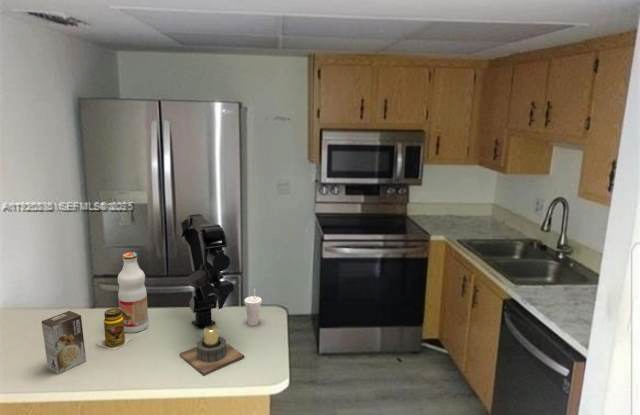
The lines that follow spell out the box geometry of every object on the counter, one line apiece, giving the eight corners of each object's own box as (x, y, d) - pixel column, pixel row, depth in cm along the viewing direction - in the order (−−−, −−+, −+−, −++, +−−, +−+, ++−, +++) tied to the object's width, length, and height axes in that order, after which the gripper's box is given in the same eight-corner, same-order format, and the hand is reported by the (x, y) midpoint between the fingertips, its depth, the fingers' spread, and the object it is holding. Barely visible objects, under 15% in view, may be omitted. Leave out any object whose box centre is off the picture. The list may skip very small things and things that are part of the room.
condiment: (116, 350, 158) (113, 317, 156) (95, 345, 161) (92, 313, 158) (131, 339, 165) (128, 308, 162) (111, 335, 168) (108, 304, 165)
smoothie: (258, 328, 175) (258, 293, 172) (242, 326, 177) (241, 291, 173) (264, 320, 182) (264, 286, 178) (248, 318, 183) (247, 284, 179)
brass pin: (202, 353, 156) (201, 328, 153) (213, 349, 159) (213, 324, 156) (209, 359, 152) (208, 333, 150) (221, 354, 156) (220, 329, 153)
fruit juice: (148, 331, 171) (144, 257, 165) (120, 335, 168) (114, 259, 161) (148, 319, 180) (143, 249, 173) (121, 323, 177) (115, 251, 170)
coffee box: (75, 355, 155) (70, 309, 151) (86, 361, 151) (82, 314, 148) (46, 368, 147) (40, 320, 143) (58, 375, 144) (52, 326, 140)
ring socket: (179, 355, 156) (178, 342, 155) (219, 340, 166) (218, 327, 165) (203, 375, 145) (203, 361, 144) (244, 358, 156) (244, 344, 154)
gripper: (176, 259, 162) (178, 302, 165) (205, 275, 149) (206, 320, 152) (205, 252, 169) (206, 293, 173) (235, 266, 156) (236, 310, 160)
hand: (213, 304), depth 164 cm, fingers open, 9 cm apart
